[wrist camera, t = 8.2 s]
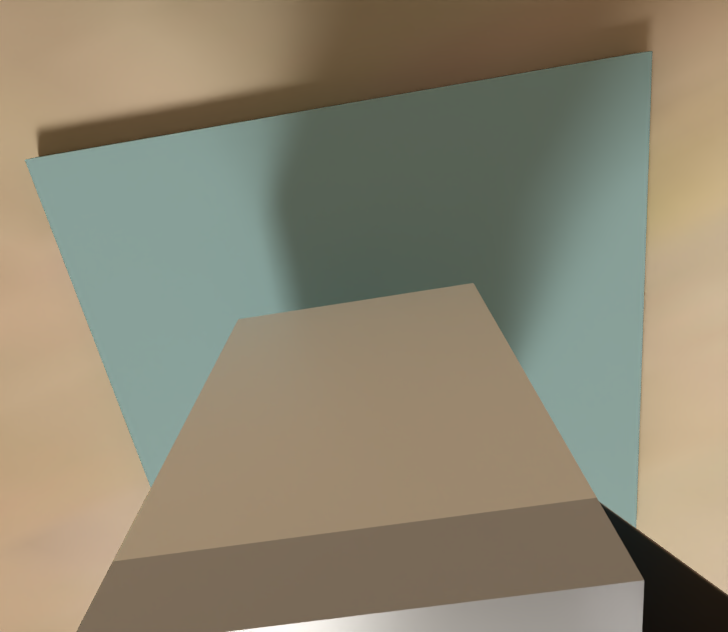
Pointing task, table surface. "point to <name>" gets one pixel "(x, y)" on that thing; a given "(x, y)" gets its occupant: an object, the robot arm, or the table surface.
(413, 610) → the light grey rectangular block
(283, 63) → the table surface
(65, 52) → the table surface
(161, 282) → the teal square plate
